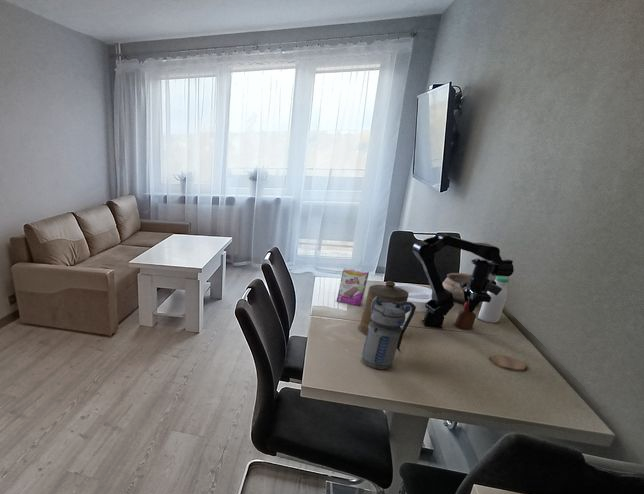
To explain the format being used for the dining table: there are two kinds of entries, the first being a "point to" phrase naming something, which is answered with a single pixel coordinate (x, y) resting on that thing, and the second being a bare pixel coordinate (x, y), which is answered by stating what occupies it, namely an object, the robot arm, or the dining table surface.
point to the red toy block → (466, 306)
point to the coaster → (508, 363)
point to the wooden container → (384, 294)
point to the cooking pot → (456, 285)
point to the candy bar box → (352, 286)
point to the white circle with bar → (416, 295)
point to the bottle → (465, 320)
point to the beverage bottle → (385, 332)
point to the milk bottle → (494, 302)
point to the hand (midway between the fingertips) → (468, 310)
